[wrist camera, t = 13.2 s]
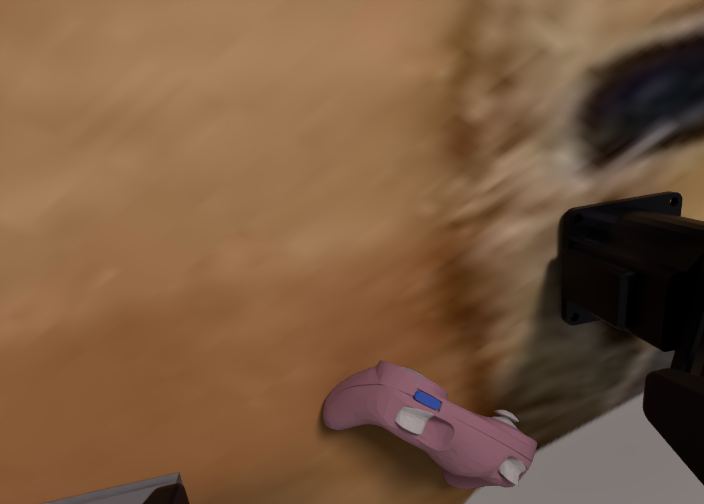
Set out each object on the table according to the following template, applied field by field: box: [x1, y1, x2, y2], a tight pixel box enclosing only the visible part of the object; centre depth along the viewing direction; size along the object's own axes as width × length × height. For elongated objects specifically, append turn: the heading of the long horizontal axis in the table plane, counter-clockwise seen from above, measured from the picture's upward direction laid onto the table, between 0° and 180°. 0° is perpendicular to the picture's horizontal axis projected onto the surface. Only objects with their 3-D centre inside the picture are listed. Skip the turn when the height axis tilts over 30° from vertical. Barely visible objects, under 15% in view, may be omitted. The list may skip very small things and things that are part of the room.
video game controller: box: [323, 361, 537, 489], centre depth 21 cm, size 10×5×7 cm, turn 55°
